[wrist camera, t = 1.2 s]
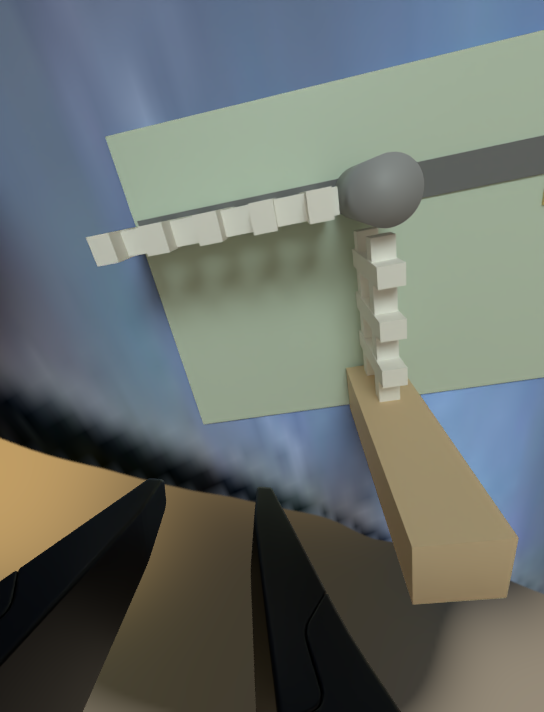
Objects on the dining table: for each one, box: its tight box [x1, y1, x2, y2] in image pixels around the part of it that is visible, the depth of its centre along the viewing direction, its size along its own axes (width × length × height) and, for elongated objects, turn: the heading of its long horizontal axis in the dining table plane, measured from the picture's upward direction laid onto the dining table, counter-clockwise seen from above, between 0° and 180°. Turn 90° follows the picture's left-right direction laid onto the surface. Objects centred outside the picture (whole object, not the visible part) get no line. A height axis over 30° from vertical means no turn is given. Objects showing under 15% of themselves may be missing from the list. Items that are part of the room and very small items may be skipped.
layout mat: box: [105, 30, 544, 424], centre depth 18 cm, size 25×17×1 cm
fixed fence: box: [86, 152, 424, 266], centre depth 15 cm, size 13×2×6 cm, turn 101°
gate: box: [346, 227, 518, 604], centre depth 14 cm, size 11×3×12 cm, turn 11°
